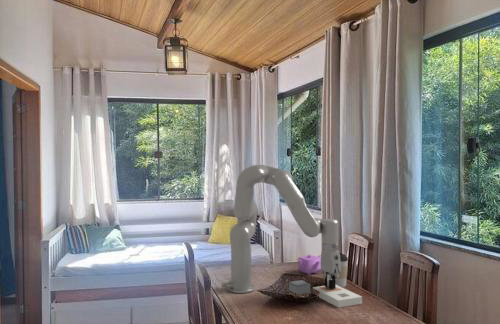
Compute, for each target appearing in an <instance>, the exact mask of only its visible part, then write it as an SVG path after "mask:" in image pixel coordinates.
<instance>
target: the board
mask: <svg viewBox="0 0 500 324" xmlns="http://www.w3.org/2000/svg"><path fill="white" fill-rule="evenodd" d="M313 289H315V290H317V291H319V292H320V294H319V297H318V298H320V299H321V300H324V301H325V302H327V303H328V304H331V305H333V306H334V307H336V308H338V309H340V308H345V307H350V306H356V305H362V304H363V296H361V295H359V294H357V293H355V292H353V291H350V290H348V289H346V288H344V287H340V286H338V285H336V288H334V289H333V290H327V287H325V285H321V286H315V287H314V286H313V287H312V290H313Z"/></svg>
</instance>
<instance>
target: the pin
mask: <svg viewBox="0 0 500 324" xmlns="http://www.w3.org/2000/svg"><path fill="white" fill-rule="evenodd" d="M332 276H333V274H332ZM329 280H330V273H327V290H333V289H329Z"/></svg>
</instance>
